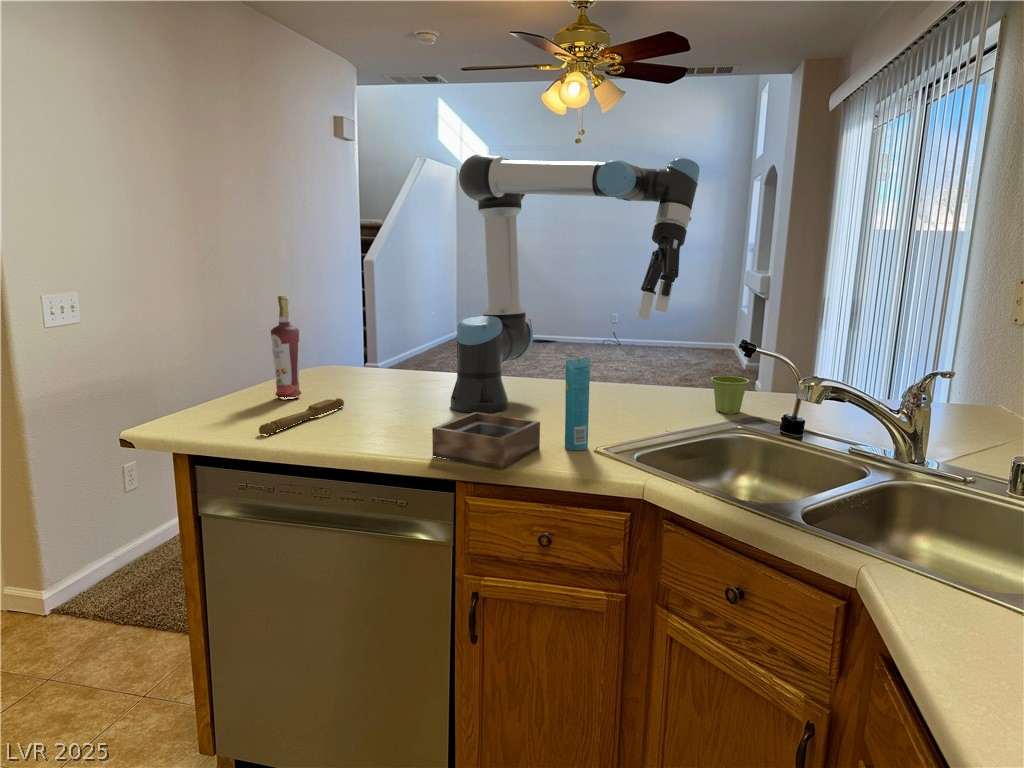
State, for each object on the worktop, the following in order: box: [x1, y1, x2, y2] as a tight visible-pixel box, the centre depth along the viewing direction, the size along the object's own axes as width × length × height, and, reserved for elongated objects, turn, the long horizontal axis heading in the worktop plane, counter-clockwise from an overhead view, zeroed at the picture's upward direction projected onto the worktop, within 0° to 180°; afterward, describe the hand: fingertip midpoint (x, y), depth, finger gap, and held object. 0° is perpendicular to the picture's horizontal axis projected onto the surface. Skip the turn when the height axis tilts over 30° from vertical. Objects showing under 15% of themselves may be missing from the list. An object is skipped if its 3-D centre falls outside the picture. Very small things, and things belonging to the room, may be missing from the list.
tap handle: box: [258, 397, 345, 435], centre depth 163 cm, size 3×3×30 cm
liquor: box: [270, 295, 302, 398], centre depth 184 cm, size 7×7×28 cm
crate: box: [431, 412, 541, 471], centre depth 139 cm, size 16×16×6 cm
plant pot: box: [710, 375, 750, 415], centre depth 177 cm, size 9×9×9 cm
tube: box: [564, 356, 591, 451], centre depth 142 cm, size 7×5×19 cm, turn 140°
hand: (651, 315), depth 156 cm, fingers open, 13 cm apart
